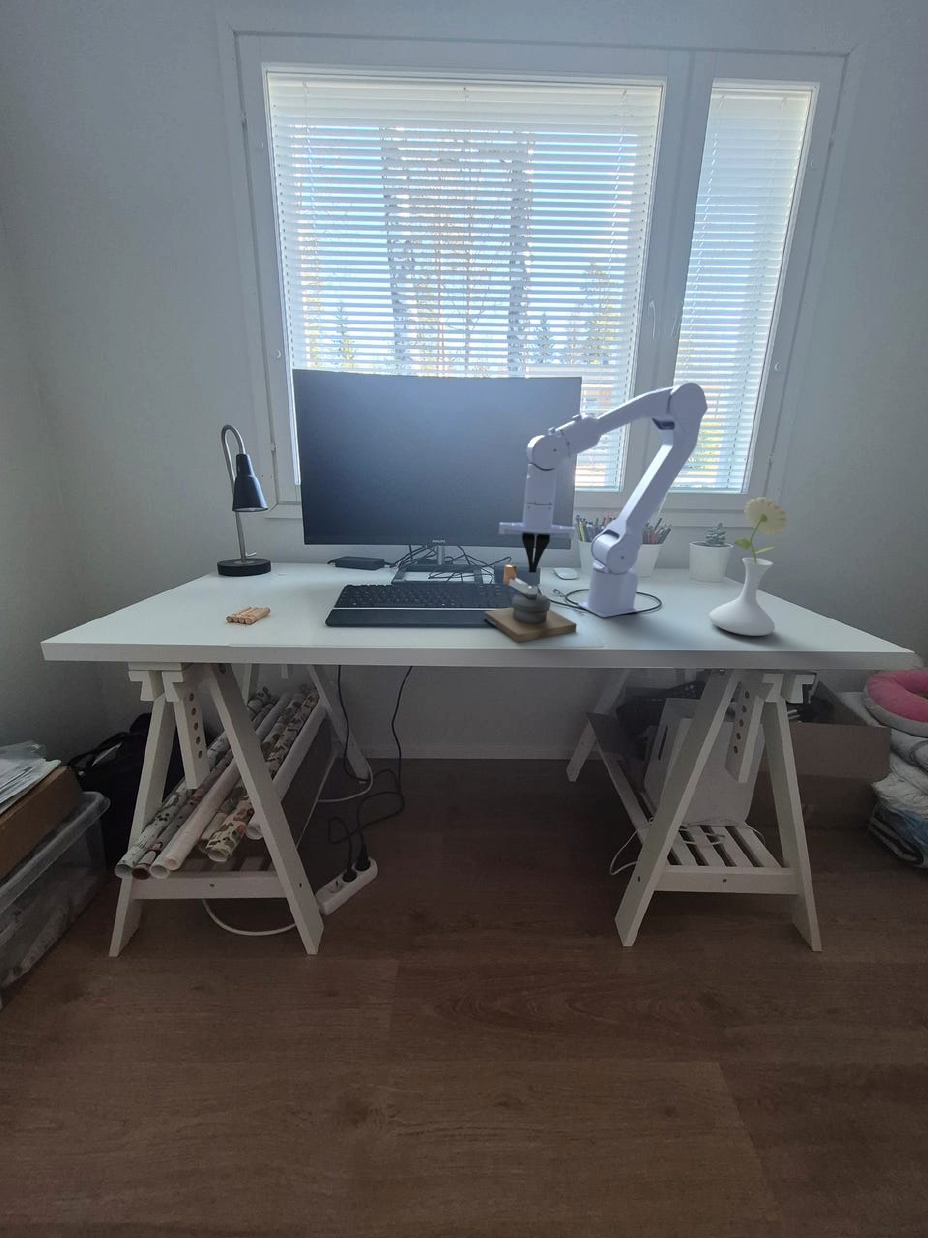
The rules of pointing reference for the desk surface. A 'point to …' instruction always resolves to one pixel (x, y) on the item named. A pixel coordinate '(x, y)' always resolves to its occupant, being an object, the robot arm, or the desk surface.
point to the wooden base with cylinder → (530, 619)
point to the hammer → (518, 582)
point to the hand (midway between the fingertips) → (532, 571)
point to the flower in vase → (752, 575)
